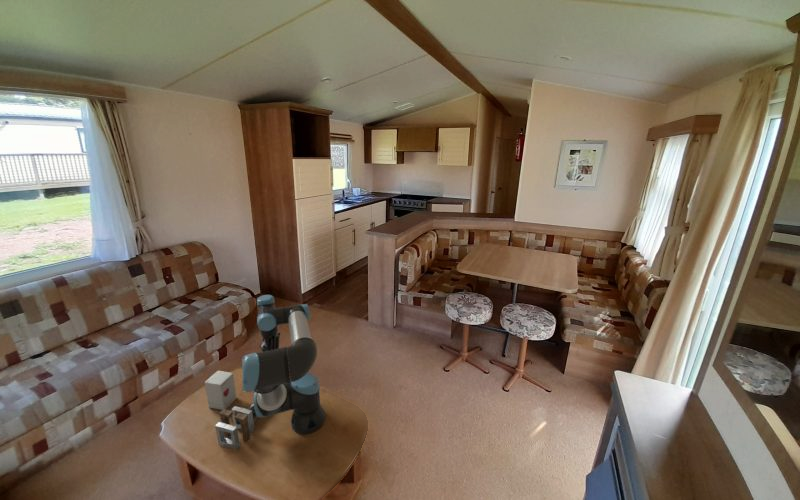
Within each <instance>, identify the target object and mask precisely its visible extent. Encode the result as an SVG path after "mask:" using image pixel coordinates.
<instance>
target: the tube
mask: <svg viewBox="0 0 800 500" xmlns="http://www.w3.org/2000/svg"><path fill="white" fill-rule="evenodd" d="M247 409H248V410H252V414H253V415H254V414H255V409H254V401H253V402H252V403H251V405H250V406H249V407H248V408H247Z"/></svg>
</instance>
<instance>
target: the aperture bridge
mask: <svg viewBox="0 0 800 500" xmlns="http://www.w3.org/2000/svg"><path fill="white" fill-rule="evenodd" d="M232 415H233V411H232V410H229V409H227V408H226V409H223V410H220V412H219V417H220V420H221V423H225V424H228V425H231V422H230V418H231V417H233V416H232ZM247 418H248V416H247V415H245V414H241V413H238V414H237V415H236V416H235V417H234V419H235V420H237V421H240V424H241V430H240V431H241V434H242V435H241V437H242V441H243V442H245V443H248V442H249V441H250V440H251V433H250V432H249V425H248V419H247ZM223 432H224V431H223ZM229 436H231V433H228V432H224V437H226V438H228V437H229Z"/></svg>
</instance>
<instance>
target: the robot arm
mask: <svg viewBox="0 0 800 500" xmlns="http://www.w3.org/2000/svg"><path fill="white" fill-rule="evenodd" d="M275 303H276V302H275V297H274V296H273V295H271V294H264V295H260V296H259V297H257V299H256V305H257V317H256V322H257V327H258V329H259V331H260V335H261V337H262V344H259V348H260V349H261V351H259V352H251V353H249V354H245V355H244V356H242V359H241V365H242V366H241V367H242V368H241V370H242V371H241V374H242V375H241V377H242V378H241V380H242V391H243V392H244V393H253V392H254V393H253V402H254V409H255V413H256V415H257V416H258V417H260V418H267V417H270V416H274V415H277V414H281V413H285V412H289V411H292V410H293V412H292V416H291V419H290V423H291V429H292V430H293V431H294V432H295V433H296V434H300V435H308V434H313V433H314V432H316V431H318V430H319V429H320V428H322V426H323V425H324V424H325V421H326V413H325V410H324V408H323V406H322V404H321V396H320V384H319V378H318V377H317V376H316V375H315V374H313V373H311V372H310V370H311V369H312V368H313V367H314V365H315V363H316V360H317V357H318V347H317V344H316V342H315V340H314V339H313V338H312V336H311V335H312V334H311V330H310V326H309V323H308V321H309V320H310V319H311V313H310V306H309V305H308V304H307V303H303V304H301V303H300V304H296V305H290V306H289V305H288V306H283V307H276V304H275ZM286 324H288V327H289V328H288V329H289V338H290V343H291V344H290V345H289V346H285V347H280V337H281V332H279V330H278V326H280V325H286ZM260 418H259V419H260Z"/></svg>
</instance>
